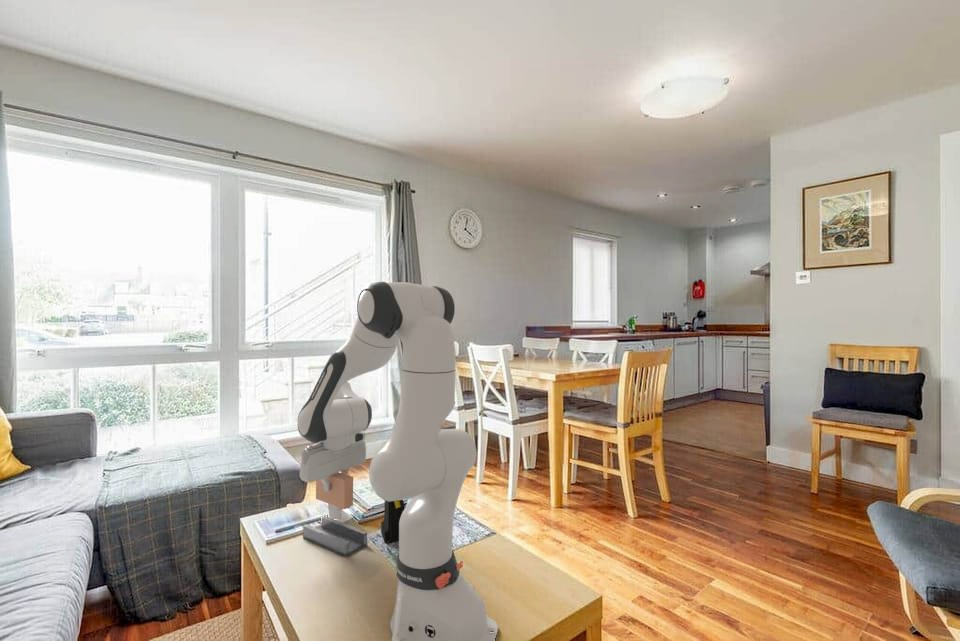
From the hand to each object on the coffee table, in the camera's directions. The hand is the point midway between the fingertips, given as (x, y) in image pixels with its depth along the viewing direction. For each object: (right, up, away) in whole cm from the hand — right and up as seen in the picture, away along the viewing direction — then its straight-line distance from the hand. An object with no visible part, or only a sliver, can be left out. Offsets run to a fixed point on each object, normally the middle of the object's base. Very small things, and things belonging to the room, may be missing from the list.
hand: (334, 487), depth 124 cm
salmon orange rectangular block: (0, -4, 0) cm, 4 cm away
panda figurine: (-5, -15, +15) cm, 22 cm away
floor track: (0, -15, 0) cm, 15 cm away
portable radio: (+16, -15, +3) cm, 22 cm away
